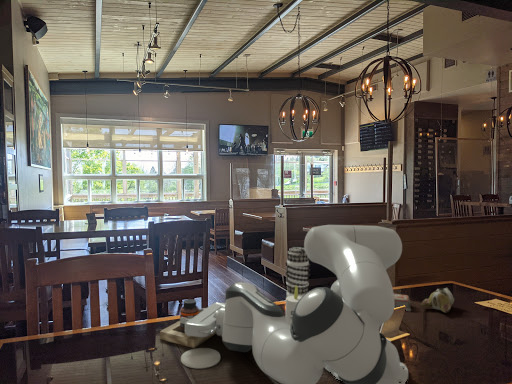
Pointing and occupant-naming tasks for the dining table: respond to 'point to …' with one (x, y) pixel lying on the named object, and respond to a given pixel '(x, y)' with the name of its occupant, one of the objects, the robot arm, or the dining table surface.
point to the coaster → (200, 358)
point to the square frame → (181, 336)
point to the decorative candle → (297, 271)
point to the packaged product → (402, 301)
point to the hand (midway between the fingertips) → (187, 315)
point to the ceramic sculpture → (439, 300)
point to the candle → (291, 305)
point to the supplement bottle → (188, 311)
